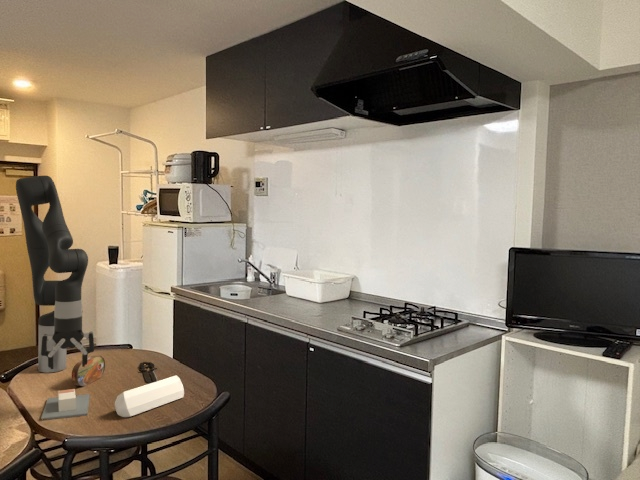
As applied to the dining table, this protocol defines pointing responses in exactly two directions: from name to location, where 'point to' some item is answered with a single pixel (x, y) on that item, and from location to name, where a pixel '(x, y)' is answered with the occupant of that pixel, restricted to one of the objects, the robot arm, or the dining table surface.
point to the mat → (53, 410)
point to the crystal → (149, 396)
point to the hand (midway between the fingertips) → (68, 367)
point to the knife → (151, 372)
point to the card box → (66, 400)
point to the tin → (88, 371)
